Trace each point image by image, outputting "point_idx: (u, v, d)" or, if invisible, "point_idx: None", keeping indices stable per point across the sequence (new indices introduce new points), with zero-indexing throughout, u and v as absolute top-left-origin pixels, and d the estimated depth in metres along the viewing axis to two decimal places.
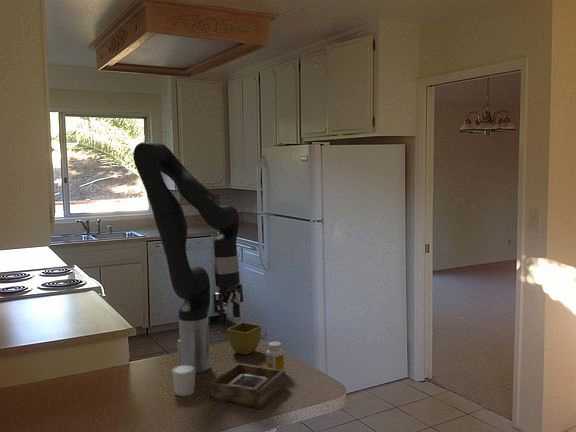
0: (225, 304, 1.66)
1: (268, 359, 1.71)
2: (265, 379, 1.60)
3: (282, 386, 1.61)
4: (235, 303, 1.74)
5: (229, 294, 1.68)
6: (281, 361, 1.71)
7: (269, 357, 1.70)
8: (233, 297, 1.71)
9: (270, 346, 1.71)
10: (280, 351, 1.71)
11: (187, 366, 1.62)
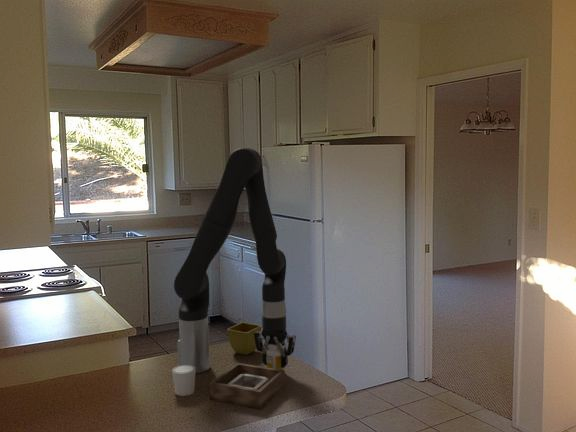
0: (285, 345, 1.72)
1: (268, 359, 1.71)
2: (265, 379, 1.60)
3: (282, 386, 1.61)
4: (266, 350, 1.73)
5: None
6: None
7: (269, 357, 1.70)
8: None
9: (270, 346, 1.71)
10: None
11: (187, 366, 1.62)
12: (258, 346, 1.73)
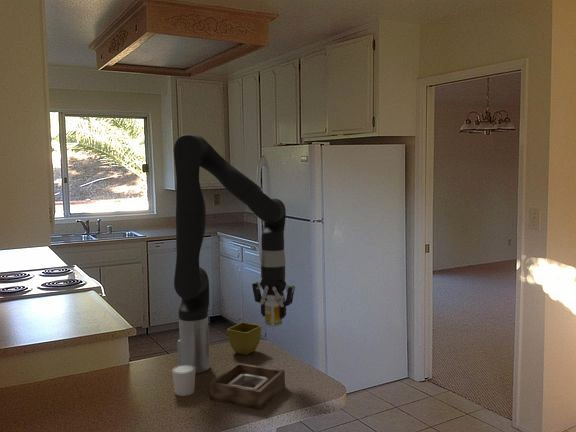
0: (284, 296, 1.70)
1: (266, 309, 1.69)
2: (265, 379, 1.60)
3: (282, 386, 1.61)
4: (264, 301, 1.72)
5: None
6: (279, 312, 1.69)
7: (267, 308, 1.69)
8: None
9: (269, 296, 1.69)
10: None
11: (187, 366, 1.62)
12: (256, 297, 1.71)
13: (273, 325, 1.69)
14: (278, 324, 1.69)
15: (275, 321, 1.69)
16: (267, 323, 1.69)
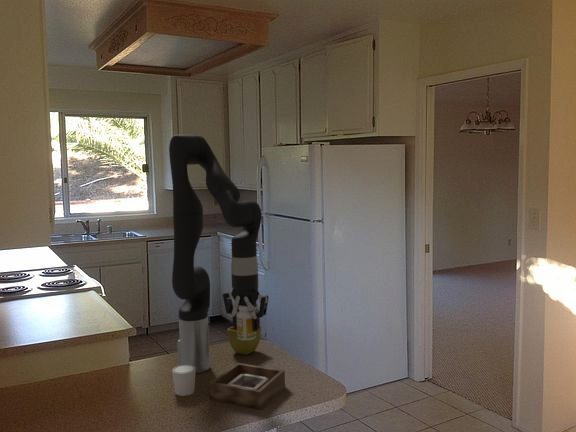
0: (257, 307, 1.56)
1: (238, 322, 1.55)
2: (265, 379, 1.60)
3: (282, 386, 1.61)
4: (236, 312, 1.58)
5: None
6: (252, 324, 1.55)
7: (239, 320, 1.54)
8: None
9: (240, 307, 1.55)
10: None
11: (187, 366, 1.62)
12: (228, 308, 1.57)
13: (245, 339, 1.54)
14: (251, 337, 1.55)
15: (247, 335, 1.54)
16: (239, 336, 1.55)
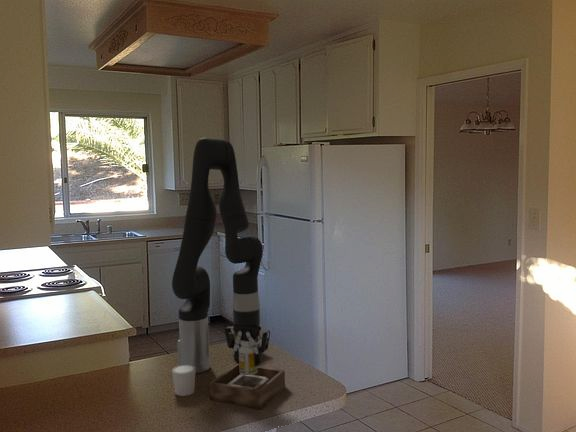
0: (259, 342, 1.57)
1: (240, 357, 1.56)
2: (265, 379, 1.60)
3: (282, 386, 1.61)
4: (238, 347, 1.59)
5: None
6: (254, 359, 1.56)
7: (241, 355, 1.56)
8: None
9: (242, 342, 1.56)
10: None
11: (187, 366, 1.62)
12: (229, 343, 1.58)
13: (248, 374, 1.56)
14: (253, 372, 1.56)
15: (250, 370, 1.56)
16: (241, 371, 1.56)
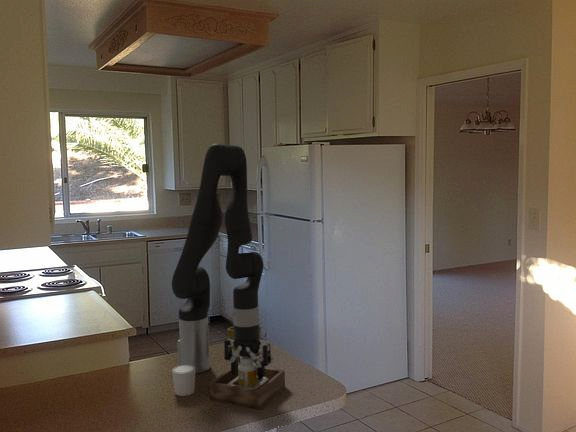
0: (260, 355, 1.57)
1: (239, 374, 1.57)
2: (265, 379, 1.60)
3: (282, 386, 1.61)
4: None
5: None
6: (254, 377, 1.57)
7: (240, 372, 1.56)
8: None
9: (242, 360, 1.56)
10: (253, 366, 1.57)
11: (187, 366, 1.62)
12: (227, 355, 1.59)
13: None
14: None
15: None
16: None
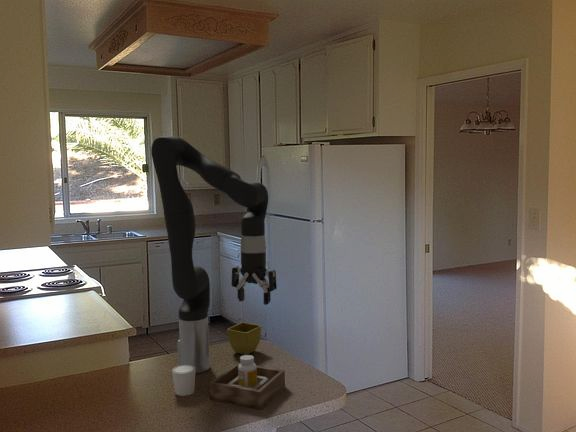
0: (266, 282, 1.64)
1: (239, 374, 1.57)
2: (265, 379, 1.60)
3: (282, 386, 1.61)
4: None
5: None
6: (254, 377, 1.57)
7: (240, 372, 1.56)
8: None
9: (242, 360, 1.56)
10: (253, 366, 1.57)
11: (187, 366, 1.62)
12: (234, 282, 1.67)
13: None
14: None
15: None
16: None
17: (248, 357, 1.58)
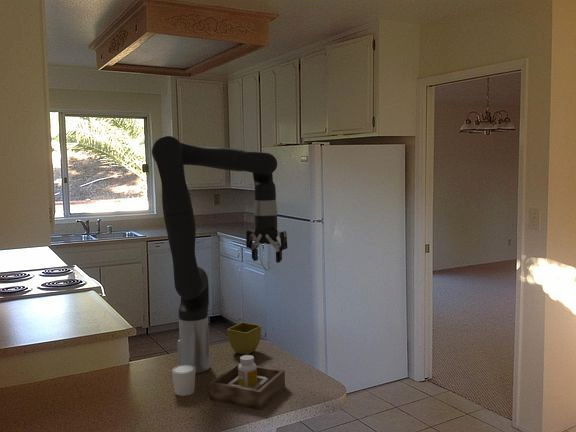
0: (278, 242, 1.82)
1: (240, 374, 1.57)
2: (265, 379, 1.60)
3: (282, 386, 1.61)
4: None
5: None
6: (254, 377, 1.57)
7: (240, 372, 1.56)
8: None
9: (242, 360, 1.56)
10: (253, 366, 1.57)
11: (187, 366, 1.62)
12: (248, 243, 1.84)
13: None
14: None
15: None
16: None
17: (248, 357, 1.58)
